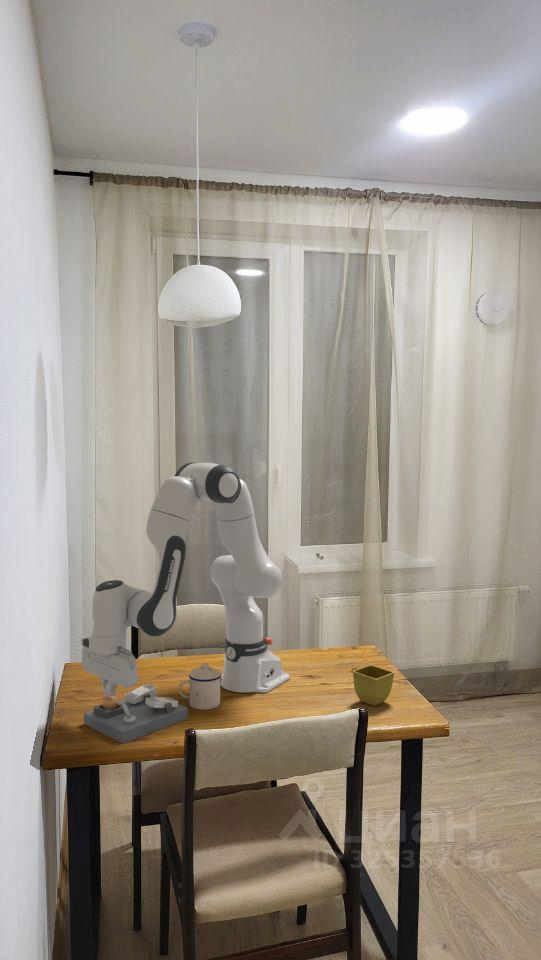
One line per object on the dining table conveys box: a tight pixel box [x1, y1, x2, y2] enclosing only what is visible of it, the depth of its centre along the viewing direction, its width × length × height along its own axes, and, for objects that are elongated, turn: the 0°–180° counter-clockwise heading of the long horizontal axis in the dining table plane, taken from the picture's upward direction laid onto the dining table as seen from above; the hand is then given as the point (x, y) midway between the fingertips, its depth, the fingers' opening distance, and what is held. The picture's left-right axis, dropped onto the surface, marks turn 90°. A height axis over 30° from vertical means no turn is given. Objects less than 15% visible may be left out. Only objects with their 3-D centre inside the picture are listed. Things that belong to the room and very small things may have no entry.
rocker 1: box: [123, 683, 158, 704], centre depth 200 cm, size 8×4×2 cm, turn 138°
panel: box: [83, 688, 188, 744], centre depth 193 cm, size 21×18×8 cm
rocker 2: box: [145, 696, 179, 708], centre depth 194 cm, size 8×4×2 cm, turn 138°
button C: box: [102, 694, 118, 709], centre depth 191 cm, size 4×4×2 cm
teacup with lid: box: [178, 662, 222, 711], centre depth 205 cm, size 12×9×12 cm
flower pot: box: [352, 664, 395, 707], centre depth 209 cm, size 9×9×9 cm
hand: (109, 695), depth 191 cm, fingers closed
